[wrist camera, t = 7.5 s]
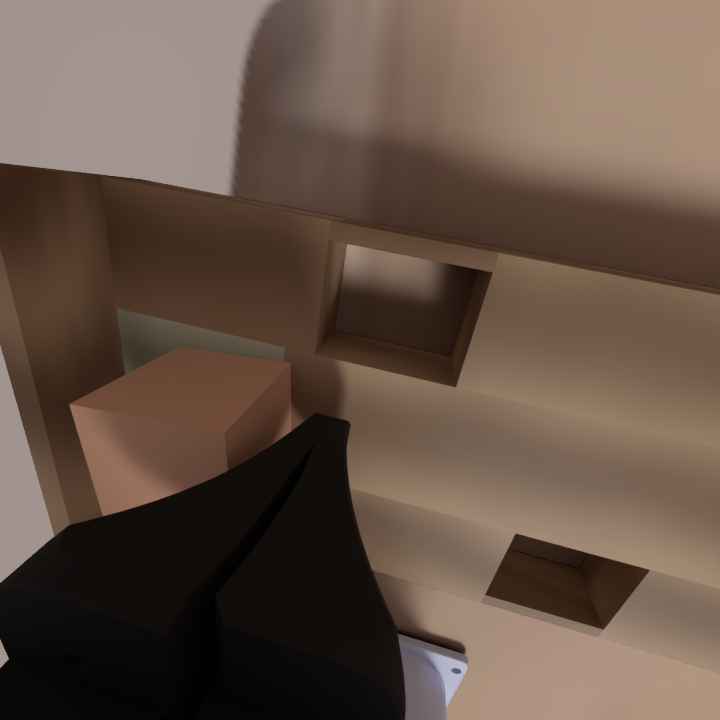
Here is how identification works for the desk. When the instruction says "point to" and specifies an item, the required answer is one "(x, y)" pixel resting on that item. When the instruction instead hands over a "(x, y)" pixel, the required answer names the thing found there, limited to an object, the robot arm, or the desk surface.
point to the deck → (402, 392)
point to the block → (180, 423)
